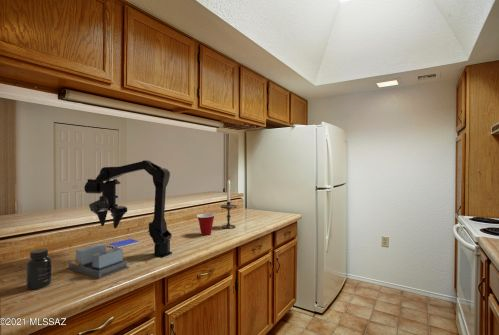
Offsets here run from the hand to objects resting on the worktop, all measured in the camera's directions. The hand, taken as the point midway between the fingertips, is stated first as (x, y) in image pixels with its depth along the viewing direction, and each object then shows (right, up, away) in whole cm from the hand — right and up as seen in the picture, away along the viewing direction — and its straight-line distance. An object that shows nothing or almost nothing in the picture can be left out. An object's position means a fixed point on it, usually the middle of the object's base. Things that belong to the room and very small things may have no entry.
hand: (108, 227), depth 127 cm
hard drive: (+1, -13, +14) cm, 19 cm away
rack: (+6, -12, -19) cm, 23 cm away
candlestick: (+52, -12, +53) cm, 75 cm away
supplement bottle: (-6, -13, -35) cm, 38 cm away
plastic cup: (+40, -12, +35) cm, 54 cm away
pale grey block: (+1, -12, -16) cm, 20 cm away
